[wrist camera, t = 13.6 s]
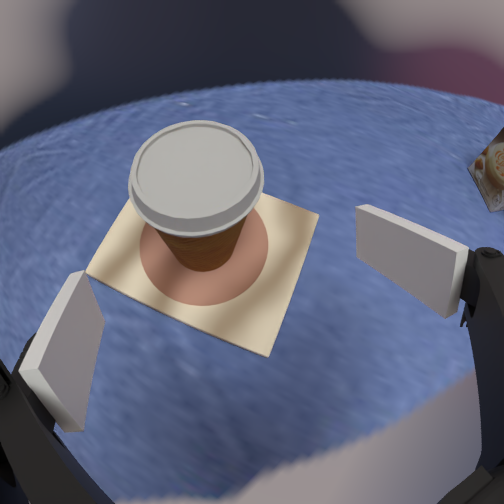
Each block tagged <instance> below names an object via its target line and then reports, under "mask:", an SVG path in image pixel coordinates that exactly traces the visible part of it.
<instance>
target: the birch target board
mask: <svg viewBox="0 0 504 504" xmlns="http://www.w3.org/2000/svg"><path fill="white" fill-rule="evenodd" d="M318 218H319V215H318V214H316V213H313V212H311V211H308V210H306V209H303V208H301V207H298V206H295V205H293V204H290V203H288V202H285V201H283V200H280V199H277V198H275V197H272V196H269V195H267V194H264V193H261V195H260V198H259V200H258V202H257V203H256V205H255V206H254V208H253V209H252V211H251V212H250V213H249V214H248V215H247V218H246V220H245V223H244V225H243V228H242V230H241V233H240V236H239V238H238V241H237V243H236V246H235V249H234V252H233V254H232V256H231V258H230V259H229V260H228V261H227V262H226V263H225V264H224V265H223V266H221V267H219V268H218V269H215V270H212V271H207V272H197V271H193V270H190V269H188V268H186V267H184V266H183V265H182V264H180V262H179V261H178V260H177V259H176V257H175V256H174V255H173V253H172V252H171V250H170V249H169V248H168V246H167V245H166V243H165V242H164V241H163V240H162V238H161V237H160V235H159V234H158V233H157V231H156V230H155V228H154V227H152V226H150V225H149V224H148V223H147V222H145V221H144V220H143V219H142V218H141V217H140V216H139V215H138V213H137V212H136V210H135V208H134V206H133V204H132V202H131V201H130V198H129V200H128V201H127V203H126V205H125V206H124V208H123V209H122V211H121V212H120V214H119V215H118V217H117V219H116V220H115V222H114V223H113V225H112V227H111V228H110V230H109V231H108V233H107V235H106V236H105V238H104V240H103V241H102V243H101V245H100V247H99V248H98V250H97V252H96V253H95V255H94V257H93V259H92V260H91V262H90V264H89V266H88V268H87V269H86V271H85V272H86V274H88V275H89V276H90V277H92V278H94V279H96V280H97V281H99V282H101V283H103V284H105V285H107V286H109V287H110V288H112V289H114V290H116V291H118V292H120V293H122V294H124V295H126V296H128V297H130V298H132V299H134V300H136V301H138V302H140V303H142V304H144V305H146V306H148V307H150V308H152V309H154V310H156V311H158V312H160V313H162V314H164V315H167V316H169V317H171V318H173V319H175V320H177V321H180V322H182V323H184V324H186V325H188V326H191V327H193V328H195V329H197V330H200V331H202V332H204V333H206V334H209V335H211V336H213V337H216V338H218V339H221V340H223V341H225V342H228V343H230V344H233V345H235V346H238V347H240V348H243V349H245V350H248V351H250V352H253V353H255V354H258V355H260V356H263V357H266V358H268V357H269V355H270V352H271V350H272V347H273V344H274V342H275V339H276V337H277V334H278V331H279V329H280V326H281V323H282V321H283V318H284V315H285V313H286V310H287V307H288V305H289V302H290V299H291V296H292V294H293V291H294V288H295V285H296V282H297V280H298V277H299V274H300V271H301V268H302V265H303V262H304V260H305V257H306V254H307V251H308V248H309V245H310V242H311V239H312V236H313V233H314V230H315V227H316V224H317V221H318Z"/></svg>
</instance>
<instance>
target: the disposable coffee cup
mask: <svg viewBox="0 0 504 504" xmlns="http://www.w3.org/2000/svg"><path fill="white" fill-rule="evenodd" d="M263 185H264V171H263V167H262V164H261V161H260V159H259V157H258V155H257V153H256V151H255V148H254V147H253V145H252V143H251V142H250V141H249V140H248V139H247V138H246V137H245V136H244V135H243V134H242V133H240V132H239V131H237V130H236V129H234V128H232V127H230V126H227V125H224V124H220V123H217V122H214V121H205V120H193V121H187V122H182V123H178V124H174V125H171V126H169V127H166V128H164V129H162V130H161V131H159V132H157V133H156V134H154V135H153V136H151V137H150V138H149V139H148V140H147V141H146V142H145V143H144V144H143V145H142V146H141V148H140V149H139V151H138V152H137V153H136V155H135V158H134V161H133V164H132V167H131V173H130V176H129V184H128V190H129V196H130V201H131V202H132V204H133V206H134V208H135V210H136V212H137V213H138V215H139V216H140V217H141V218H142V219H143V220H144V221H145V222H147V223H148V224H149V225H150V226H152V227H154V228H155V230H156V231H157V233H158V234H159V235H160V237H161V238H162V240H163V241H164V242H165V243H166V245H167V246H168V248H169V249H170V250H171V252H172V253H173V255H174V256H175V257H176V259H177V260H178V261H179V262H180V264H182V265H183V266H184V267H186V268H188V269H190V270H193V271H197V272H207V271H212V270H215V269H218V268H219V267H221V266H223V265H224V264H225V263H226V262H227V261H228V260H229V259H230V258H231V256H232V254H233V252H234V249H235V246H236V243H237V241H238V238H239V236H240V233H241V230H242V228H243V225H244V223H245V220H246V218H247V215H248V214H249V213H250V212H251V211H252V209H253V208H254V206H255V205H256V203H257V202H258V200H259V198H260V195H261V193H262V190H263Z"/></svg>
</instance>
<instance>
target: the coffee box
mask: <svg viewBox="0 0 504 504" xmlns="http://www.w3.org/2000/svg"><path fill="white" fill-rule="evenodd" d="M468 170H469V172H470V173H471V175H472V177H473V179H474V181H475V183H476V185H477V186H478V188H479V190H480V192H481V194H482V196H483V198H484V200H485V202H486V205H487V207H488V209H489V211H490V212H494V211H500V210H504V127H503V129H502V130H501V131H500V132H499V133H498V135H497V136H496V137H495V138H494V139H493V141H492V142H491V143H490V144H489V145H488V146H487V147H486V149H485V150H484V151H483V152H482V153H481V154H480V155H479V157H478V158H477V159H476V160H475V161H474V162H473V163H472V164H471V165H470V166H469V167H468Z"/></svg>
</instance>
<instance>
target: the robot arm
mask: <svg viewBox="0 0 504 504" xmlns="http://www.w3.org/2000/svg"><path fill="white" fill-rule="evenodd" d="M355 209H356V246H357V258H359V259H360V260H362V261H363V262H365V263H366V264H368V265H369V266H371V267H372V268H374V269H375V270H377V271H378V272H380V273H381V274H383V275H384V276H386V277H387V278H388V279H390V280H391V281H393V282H394V283H396V284H397V285H399V286H400V287H401V288H403V289H404V290H406V291H407V292H409V293H410V294H411V295H413V296H414V297H416V298H417V299H418V300H420V301H421V302H423V303H424V304H425V305H427V306H428V307H429V308H431V309H432V310H434V311H435V312H436V313H438V314H439V315H440V316H442V317H443V318H444V319H446V318H447V317H449V316H451V315H453V314H454V313H456V312H457V310H458V305H459V301H460V298H461V299H462V300H464V301H465V302H466V303H465V307H464V311H463V315H462V319H461V323H460V327H463V323H464V322H465V321H467V324H466V327H468V331H469V335H470V340H471V346H472V351H473V357H474V363H475V370H476V377H477V385H478V393H479V404H480V416H481V434H482V451H481V456H480V458H479V461H478V464H477V466H476V469H475V471H474V472H473V473H472V474H471V475H470V476H468V477H467V478H466V479H465V480H464V481H462V482H461V483H460V484H459V485H457V486H456V487H455V488H454V489H452V490H451V491H450V492H448V493H447V494H446V495H445V496H444V497H443V498H442V499H441V500H440V501H439V502H438V503H437V504H504V255H503V254H502V253H501V252H500V251H499V250H496V249H494V248H490V247H481V248H477V249H476V250H475V252H474V251H472V250H470V249H469V247H467V246H465V245H463V244H461V243H459V242H456V241H454V240H452V239H450V238H448V237H445V236H443V235H441V234H439V233H436V232H434V231H432V230H430V229H427V228H425V227H423V226H420V225H418V224H416V223H413V222H411V221H408V220H406V219H404V218H401V217H399V216H396V215H394V214H391V213H389V212H386V211H384V210H381V209H379V208H376V207H373V206H371V205H368V204H366V205H361V206H356V207H355ZM104 324H105V320H104V317H103V315H102V313H101V310H100V308H99V306H98V303H97V301H96V298H95V296H94V293H93V291H92V288H91V286H90V283H89V280H88V278H87V275H86V272H85V270H83V271H79V272H75V273H71V274H70V275H69V277H68V279H67V280H66V282H65V283H64V285H63V287H62V288H61V290H60V292H59V294H58V295H57V297H56V299H55V300H54V302H53V304H52V306H51V307H50V309H49V311H48V313H47V315H46V316H45V318H44V320H43V322H42V324H41V326H40V328H39V329H38V331H37V333H35V334H34V335H33V336H32V337H31V338H30V339H29V340H28V341H27V343H26V345H25V347H24V349H23V352H22V353H21V355H20V357H19V358H20V359H18V361H17V363H16V365H15V367H14V369H13V372H12V374H10V373H9V371H8V370H7V368H6V367H5V365H4V364H3V362H2V360H1V359H0V504H29V502H30V504H115V503H114V502H113V501H112V500H111V499H110V498H109V497H108V496H107V495H106V494H105V493H104V492H103V491H102V489H101V488H100V487H99V486H98V485H97V484H96V483H95V482H94V481H93V479H92V478H91V477H90V476H89V475H88V474H87V472H86V471H85V470H84V469H83V468H82V466H81V465H80V464H79V463H78V461H77V460H76V459H75V458H74V456H73V455H72V454H71V453H70V451H69V450H68V449H67V447H66V446H65V445H64V443H63V442H62V440H61V439H60V438H59V436H58V435H57V434H56V433H55V432H54V431H53V430H54V425H55V422H56V423H57V424H58V425H59V426H60V428H61V429H62V430H63V431H64V432H80V431H84V425H85V418H86V412H87V405H88V399H89V394H90V388H91V383H92V378H93V373H94V368H95V363H96V358H97V354H98V349H99V345H100V341H101V336H102V332H103V328H104ZM28 500H29V501H28Z"/></svg>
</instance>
